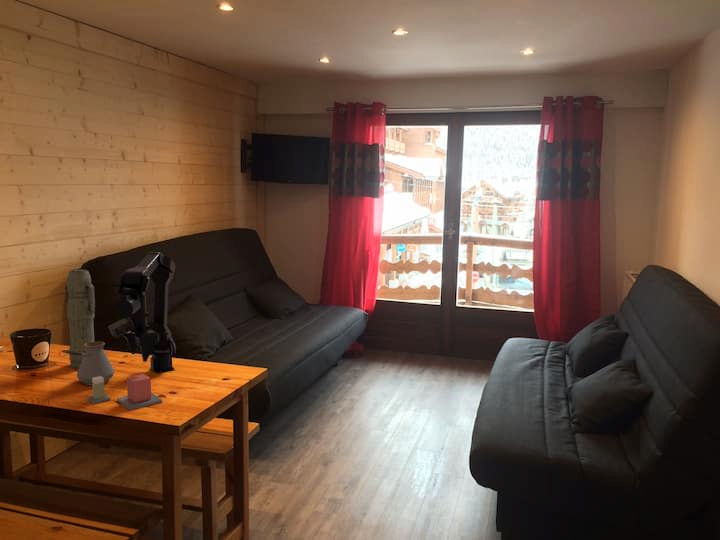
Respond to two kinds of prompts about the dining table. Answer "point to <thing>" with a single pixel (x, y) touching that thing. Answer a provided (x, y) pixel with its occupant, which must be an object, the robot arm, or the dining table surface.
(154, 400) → the grey plate with post
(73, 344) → the grey figurine statue
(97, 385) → the grey base with block
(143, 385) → the red rectangular block
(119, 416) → the dining table surface
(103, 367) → the coffee pot
